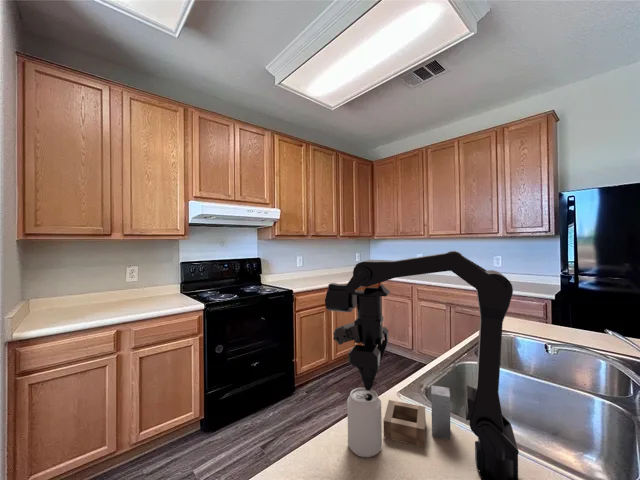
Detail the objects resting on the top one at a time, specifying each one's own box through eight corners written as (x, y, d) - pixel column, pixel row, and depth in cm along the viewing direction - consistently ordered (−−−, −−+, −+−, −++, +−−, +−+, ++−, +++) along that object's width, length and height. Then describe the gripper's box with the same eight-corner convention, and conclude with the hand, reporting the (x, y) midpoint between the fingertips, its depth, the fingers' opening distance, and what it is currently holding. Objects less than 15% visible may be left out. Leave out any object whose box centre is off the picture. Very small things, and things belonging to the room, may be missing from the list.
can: (382, 462, 59) (381, 405, 59) (346, 457, 61) (345, 401, 60) (381, 437, 66) (380, 386, 66) (349, 433, 68) (348, 383, 68)
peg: (449, 429, 69) (449, 388, 69) (450, 440, 65) (450, 396, 65) (431, 425, 70) (431, 385, 70) (431, 435, 67) (431, 393, 67)
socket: (425, 422, 71) (425, 406, 71) (424, 447, 63) (424, 429, 63) (389, 414, 75) (388, 399, 75) (383, 437, 66) (383, 420, 66)
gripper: (346, 303, 78) (348, 360, 78) (323, 322, 61) (326, 395, 61) (387, 305, 74) (390, 365, 74) (375, 326, 57) (378, 404, 57)
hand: (371, 380), depth 67 cm, fingers open, 9 cm apart
